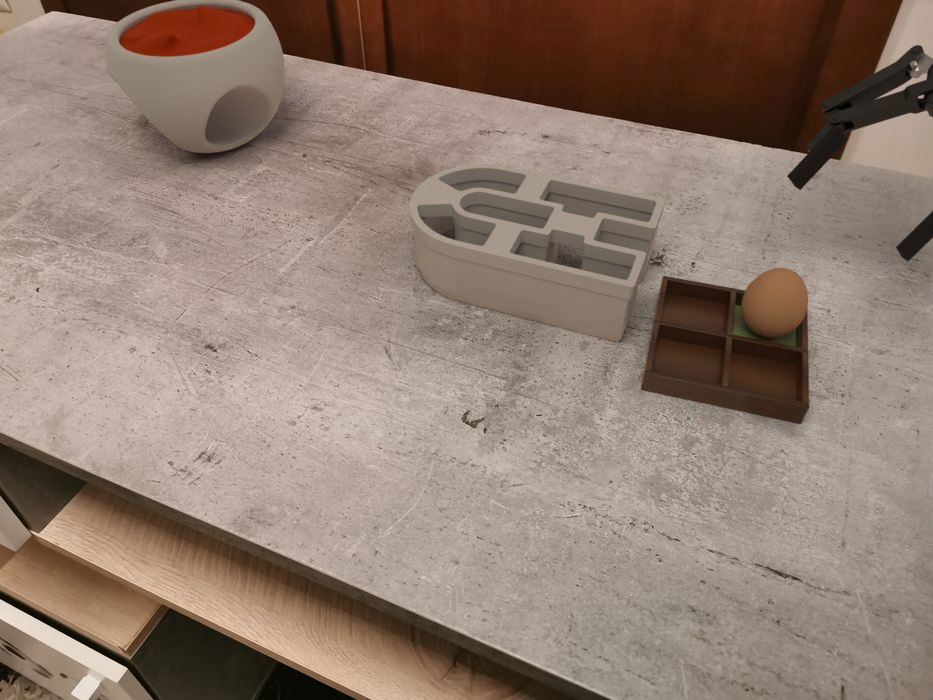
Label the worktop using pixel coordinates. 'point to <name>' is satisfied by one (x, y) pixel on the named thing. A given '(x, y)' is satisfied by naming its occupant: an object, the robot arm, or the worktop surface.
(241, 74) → the pot
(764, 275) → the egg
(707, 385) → the compartment tray
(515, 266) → the grey compartment organizer
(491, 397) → the worktop surface
